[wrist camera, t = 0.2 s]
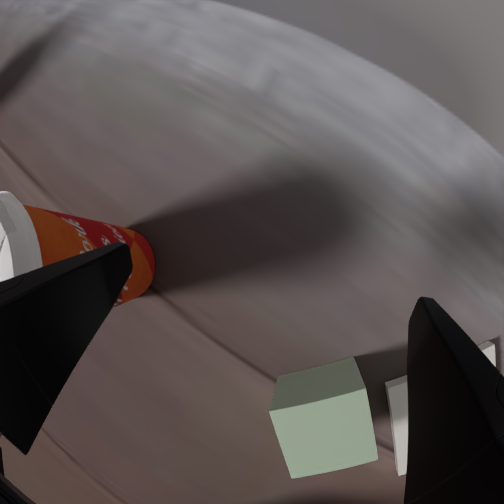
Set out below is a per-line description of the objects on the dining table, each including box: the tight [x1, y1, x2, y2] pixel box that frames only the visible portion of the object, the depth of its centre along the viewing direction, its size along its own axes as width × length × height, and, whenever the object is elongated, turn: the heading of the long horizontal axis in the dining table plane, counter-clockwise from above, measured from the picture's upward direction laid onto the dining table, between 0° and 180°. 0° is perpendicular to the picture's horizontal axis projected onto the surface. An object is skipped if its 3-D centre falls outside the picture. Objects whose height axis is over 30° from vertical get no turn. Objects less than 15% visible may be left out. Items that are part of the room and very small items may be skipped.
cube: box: [269, 357, 378, 478], centre depth 20 cm, size 6×6×6 cm
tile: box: [385, 341, 496, 476], centre depth 20 cm, size 10×10×1 cm
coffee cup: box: [0, 191, 155, 307], centre depth 18 cm, size 8×8×15 cm
